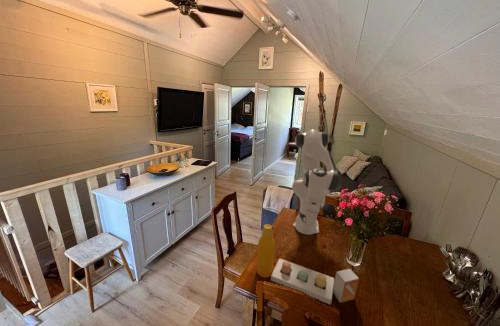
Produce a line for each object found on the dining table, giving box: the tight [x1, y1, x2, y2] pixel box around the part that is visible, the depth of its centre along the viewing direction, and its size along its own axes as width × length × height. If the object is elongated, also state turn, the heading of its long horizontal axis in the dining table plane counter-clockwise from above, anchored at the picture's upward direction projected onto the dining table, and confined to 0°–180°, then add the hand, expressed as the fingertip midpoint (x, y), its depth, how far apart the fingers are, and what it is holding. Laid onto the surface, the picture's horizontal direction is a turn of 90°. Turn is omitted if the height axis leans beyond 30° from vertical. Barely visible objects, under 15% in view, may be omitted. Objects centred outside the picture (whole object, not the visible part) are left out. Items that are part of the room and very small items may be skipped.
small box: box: [332, 268, 360, 304], centre depth 101 cm, size 8×6×13 cm
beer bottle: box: [256, 223, 276, 279], centre depth 112 cm, size 9×9×29 cm
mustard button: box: [315, 273, 326, 289], centre depth 105 cm, size 5×5×4 cm
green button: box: [297, 270, 308, 283], centre depth 110 cm, size 5×5×4 cm
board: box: [270, 258, 335, 306], centre depth 110 cm, size 14×30×3 cm, turn 64°
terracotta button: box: [281, 260, 291, 276], centre depth 113 cm, size 5×5×4 cm
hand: (312, 224), depth 110 cm, fingers closed
